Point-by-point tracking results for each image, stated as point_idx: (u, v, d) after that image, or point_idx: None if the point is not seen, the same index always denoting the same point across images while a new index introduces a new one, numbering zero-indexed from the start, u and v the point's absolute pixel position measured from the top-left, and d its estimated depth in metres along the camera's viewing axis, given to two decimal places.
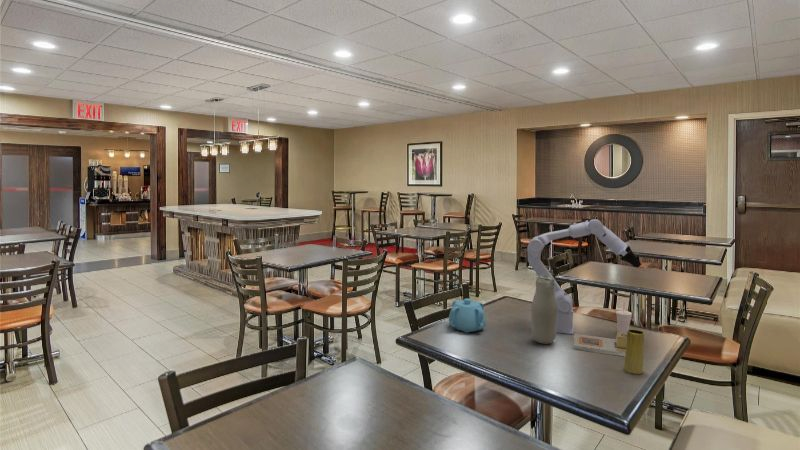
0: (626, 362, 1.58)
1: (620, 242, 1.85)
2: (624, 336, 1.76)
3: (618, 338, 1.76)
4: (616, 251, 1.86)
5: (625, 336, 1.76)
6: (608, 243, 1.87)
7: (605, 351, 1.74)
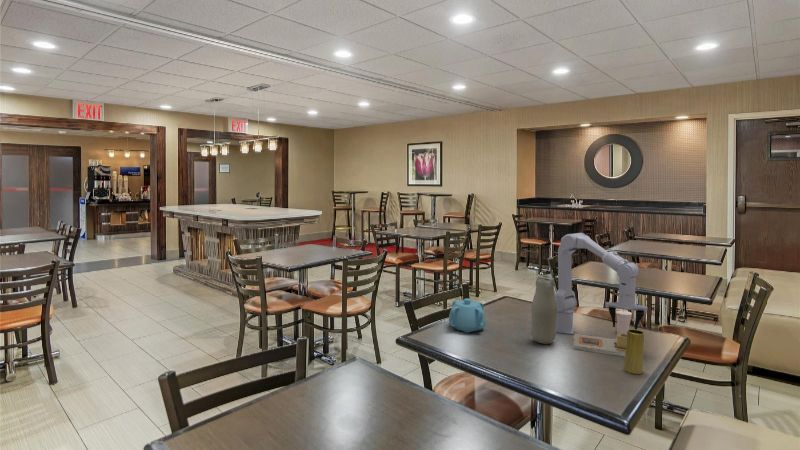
0: (626, 362, 1.58)
1: (621, 300, 1.74)
2: (624, 336, 1.76)
3: (618, 338, 1.76)
4: None
5: (625, 336, 1.76)
6: (620, 292, 1.75)
7: (605, 351, 1.74)
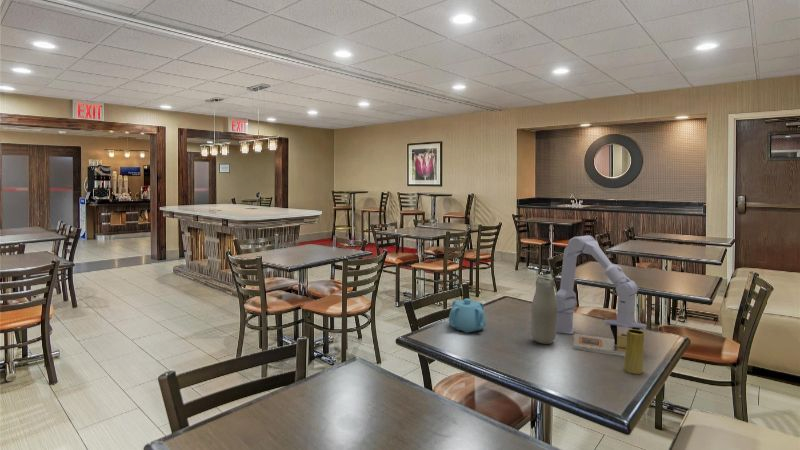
0: (626, 362, 1.58)
1: (620, 317, 1.75)
2: (624, 336, 1.76)
3: (618, 338, 1.76)
4: None
5: (625, 336, 1.76)
6: (618, 309, 1.76)
7: (605, 351, 1.74)
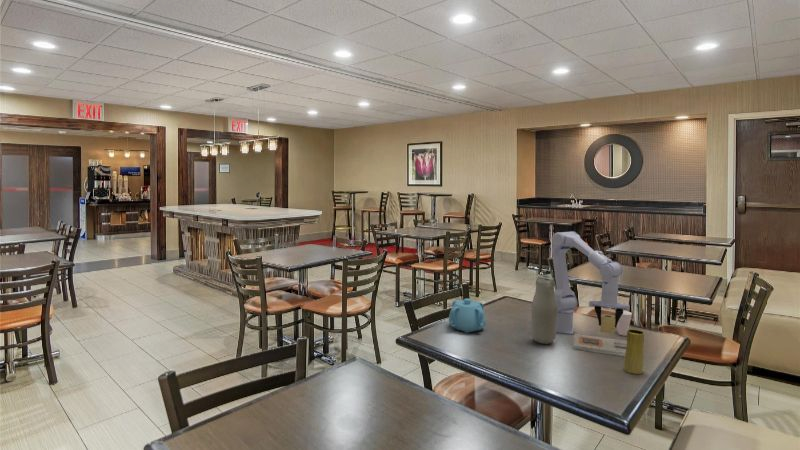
0: (626, 362, 1.58)
1: (603, 298, 1.77)
2: (608, 317, 1.77)
3: (602, 319, 1.77)
4: None
5: (609, 317, 1.78)
6: (602, 290, 1.78)
7: (605, 351, 1.74)
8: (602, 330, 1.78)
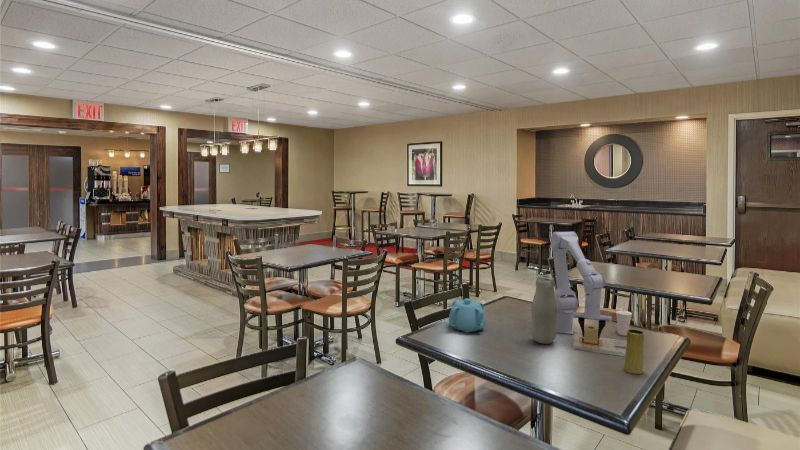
0: (626, 362, 1.58)
1: (586, 310, 1.80)
2: (591, 328, 1.80)
3: (585, 330, 1.80)
4: None
5: (592, 328, 1.80)
6: (585, 302, 1.81)
7: (605, 351, 1.74)
8: (585, 341, 1.80)
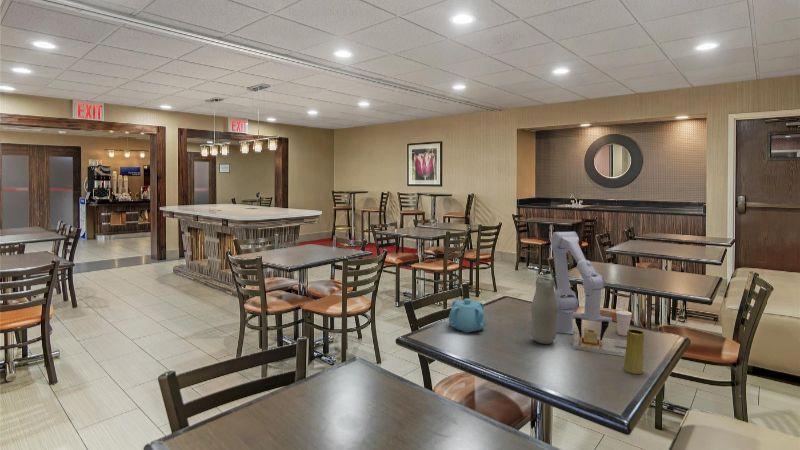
0: (626, 362, 1.58)
1: (586, 311, 1.80)
2: (590, 332, 1.80)
3: (585, 334, 1.80)
4: None
5: (592, 332, 1.80)
6: (585, 303, 1.81)
7: (605, 351, 1.74)
8: None
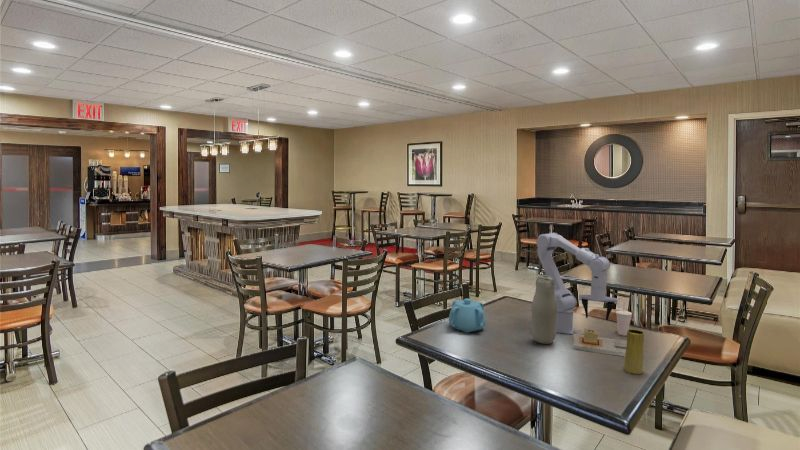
0: (626, 362, 1.58)
1: (593, 292, 1.85)
2: (590, 332, 1.80)
3: (585, 334, 1.80)
4: None
5: (592, 332, 1.80)
6: (592, 284, 1.85)
7: (605, 351, 1.74)
8: None
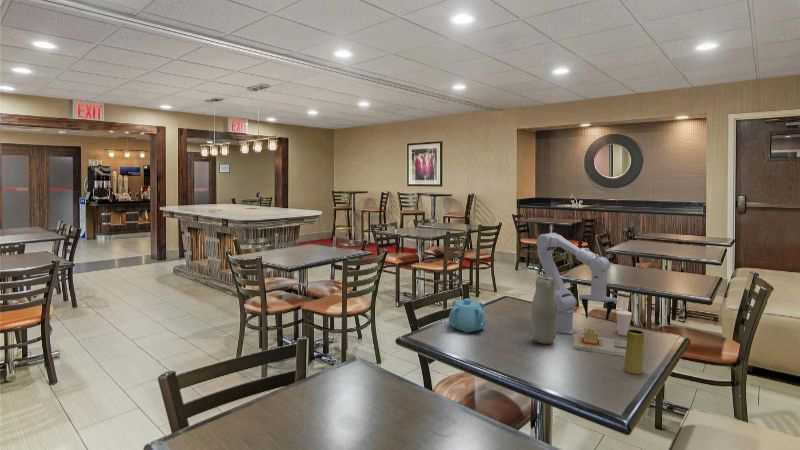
0: (626, 362, 1.58)
1: (593, 292, 1.85)
2: (590, 332, 1.80)
3: (585, 334, 1.80)
4: None
5: (592, 332, 1.80)
6: (592, 284, 1.85)
7: (605, 351, 1.74)
8: None
